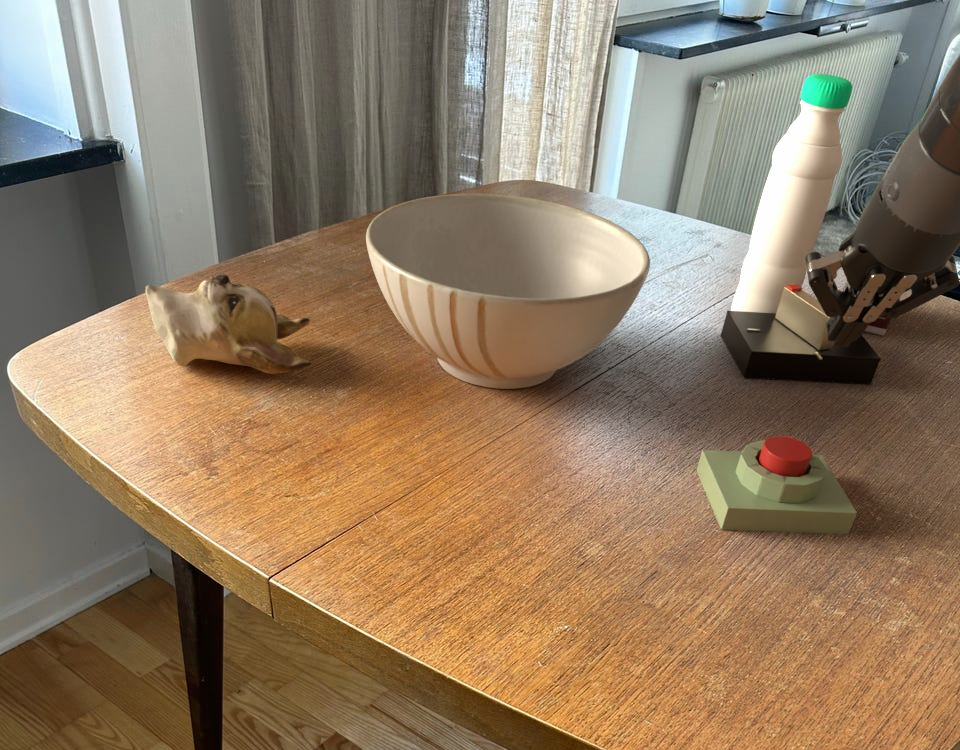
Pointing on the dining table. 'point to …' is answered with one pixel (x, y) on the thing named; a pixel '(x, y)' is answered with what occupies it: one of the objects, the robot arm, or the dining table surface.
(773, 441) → the button
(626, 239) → the decorative bowl
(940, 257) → the robot arm
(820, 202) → the milk bottle
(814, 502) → the button block
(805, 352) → the dial panel
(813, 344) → the pointer
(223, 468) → the dining table surface
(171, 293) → the ceramic sculpture
